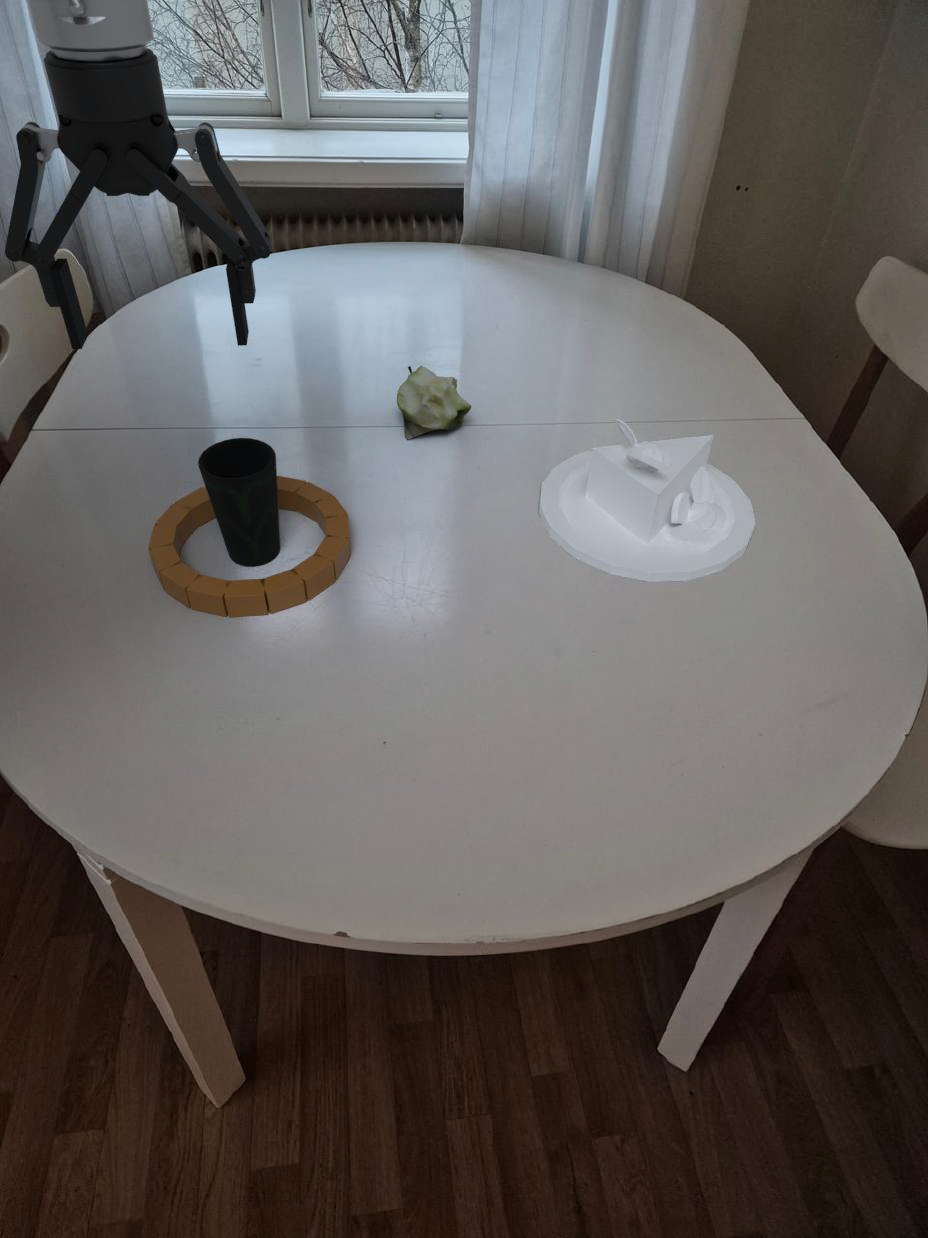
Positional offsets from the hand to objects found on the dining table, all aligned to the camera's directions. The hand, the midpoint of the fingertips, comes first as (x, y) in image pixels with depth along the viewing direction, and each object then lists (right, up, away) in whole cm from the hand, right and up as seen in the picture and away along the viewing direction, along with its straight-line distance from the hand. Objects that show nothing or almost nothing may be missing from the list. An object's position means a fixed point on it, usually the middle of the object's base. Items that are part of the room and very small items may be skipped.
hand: (162, 340), depth 74 cm
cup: (+3, -16, +21) cm, 27 cm away
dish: (+47, -11, +27) cm, 56 cm away
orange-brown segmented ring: (+3, -16, +21) cm, 27 cm away
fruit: (+22, +2, +41) cm, 46 cm away
